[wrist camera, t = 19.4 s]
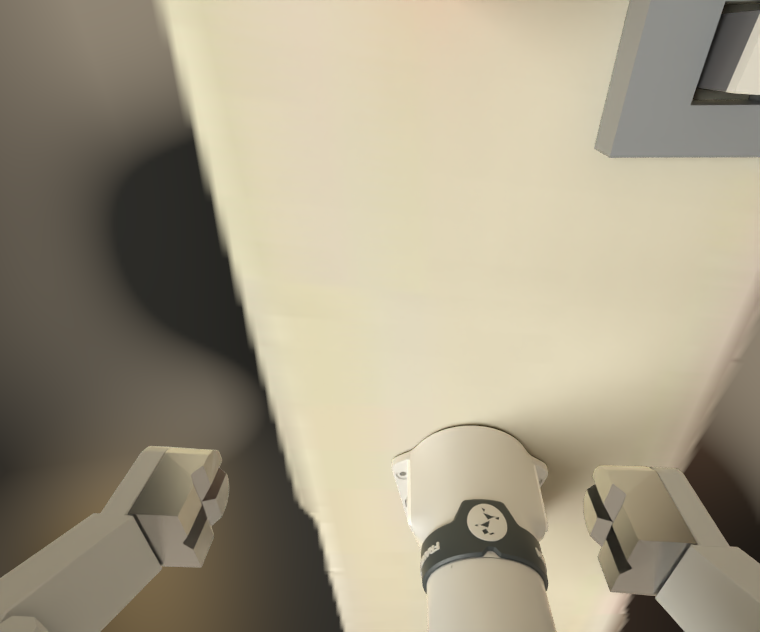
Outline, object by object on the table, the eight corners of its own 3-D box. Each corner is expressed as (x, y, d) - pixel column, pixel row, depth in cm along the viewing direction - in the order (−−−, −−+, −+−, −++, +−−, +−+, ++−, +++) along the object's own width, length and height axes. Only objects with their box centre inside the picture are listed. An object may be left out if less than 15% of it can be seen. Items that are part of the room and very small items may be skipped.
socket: (789, 147, 32) (822, 156, 29) (594, 148, 32) (609, 157, 30) (925, -141, 23) (987, -162, 21) (660, -129, 24) (689, -149, 22)
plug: (738, 88, 30) (804, 97, 25) (680, 84, 30) (734, 93, 25) (769, 18, 28) (848, 13, 23) (706, 15, 28) (771, 8, 23)
